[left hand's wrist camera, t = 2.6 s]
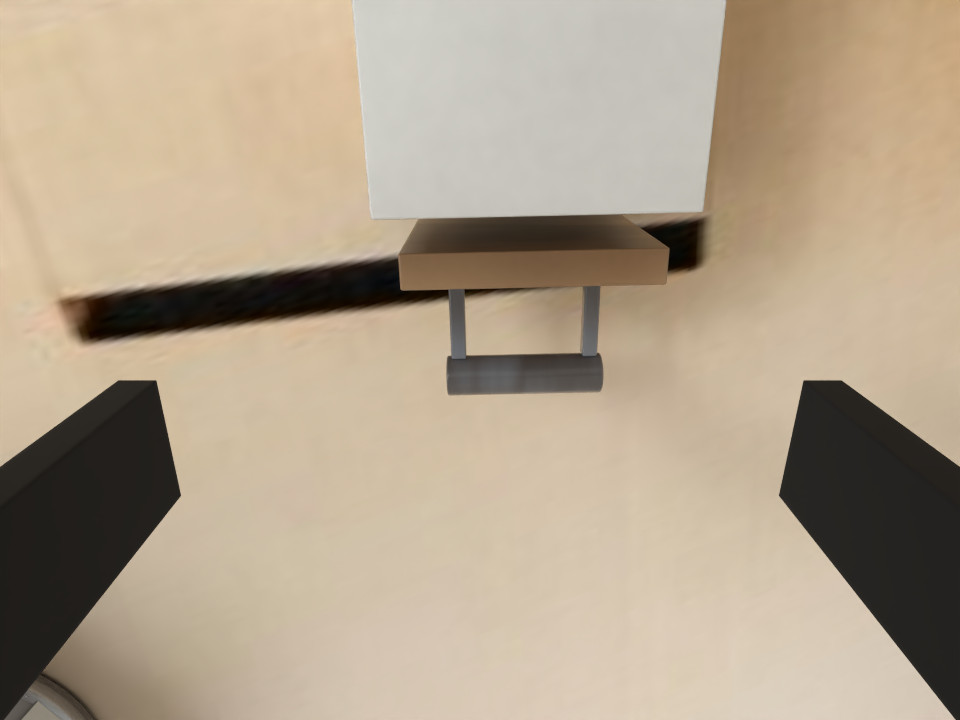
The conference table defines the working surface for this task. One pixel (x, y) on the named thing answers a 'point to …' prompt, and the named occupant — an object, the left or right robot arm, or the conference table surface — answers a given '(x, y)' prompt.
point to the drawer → (523, 264)
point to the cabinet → (536, 105)
